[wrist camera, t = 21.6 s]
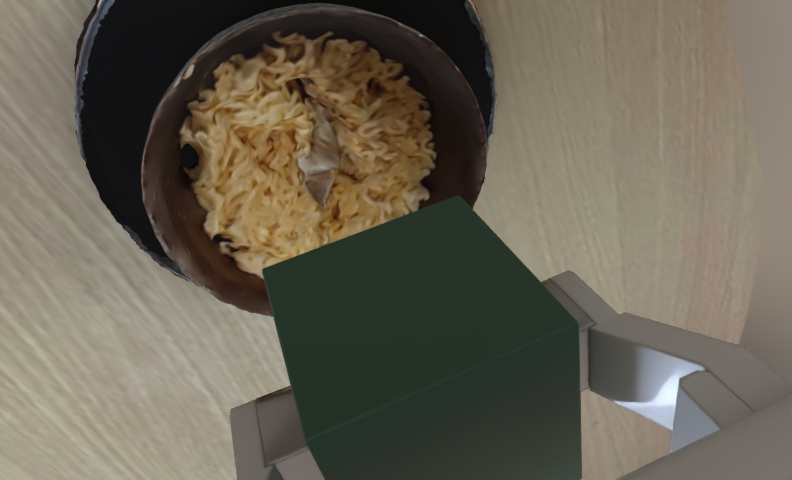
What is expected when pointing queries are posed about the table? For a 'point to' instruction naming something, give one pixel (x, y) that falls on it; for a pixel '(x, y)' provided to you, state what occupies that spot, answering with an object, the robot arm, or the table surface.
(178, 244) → the soup bowl
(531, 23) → the table surface
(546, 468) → the block
